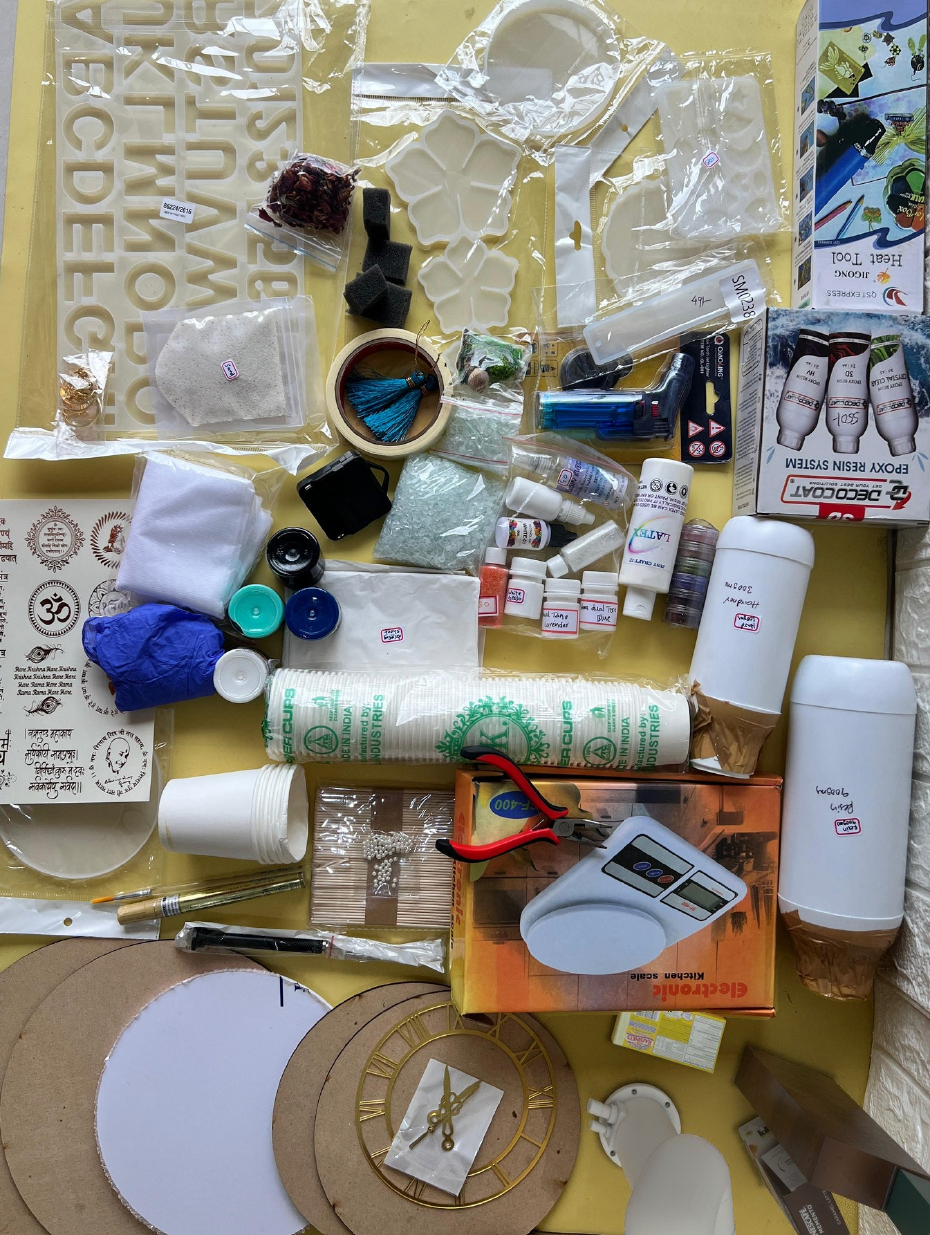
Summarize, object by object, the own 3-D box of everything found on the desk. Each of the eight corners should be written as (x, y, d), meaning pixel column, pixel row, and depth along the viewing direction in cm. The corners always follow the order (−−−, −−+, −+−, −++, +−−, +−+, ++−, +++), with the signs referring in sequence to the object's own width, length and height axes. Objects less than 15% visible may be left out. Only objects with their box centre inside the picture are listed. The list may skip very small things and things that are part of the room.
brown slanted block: (733, 1082, 123) (811, 1185, 97) (746, 1045, 123) (826, 1137, 98) (820, 1116, 123) (919, 1227, 98) (832, 1078, 123) (934, 1179, 98)
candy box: (708, 1068, 123) (723, 1016, 123) (713, 1075, 121) (728, 1022, 121) (609, 1037, 123) (625, 985, 123) (612, 1044, 121) (628, 991, 121)
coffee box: (735, 1128, 122) (780, 1194, 106) (771, 1108, 122) (821, 1171, 106) (762, 1183, 121) (812, 1259, 105) (798, 1163, 122) (853, 1235, 106)
